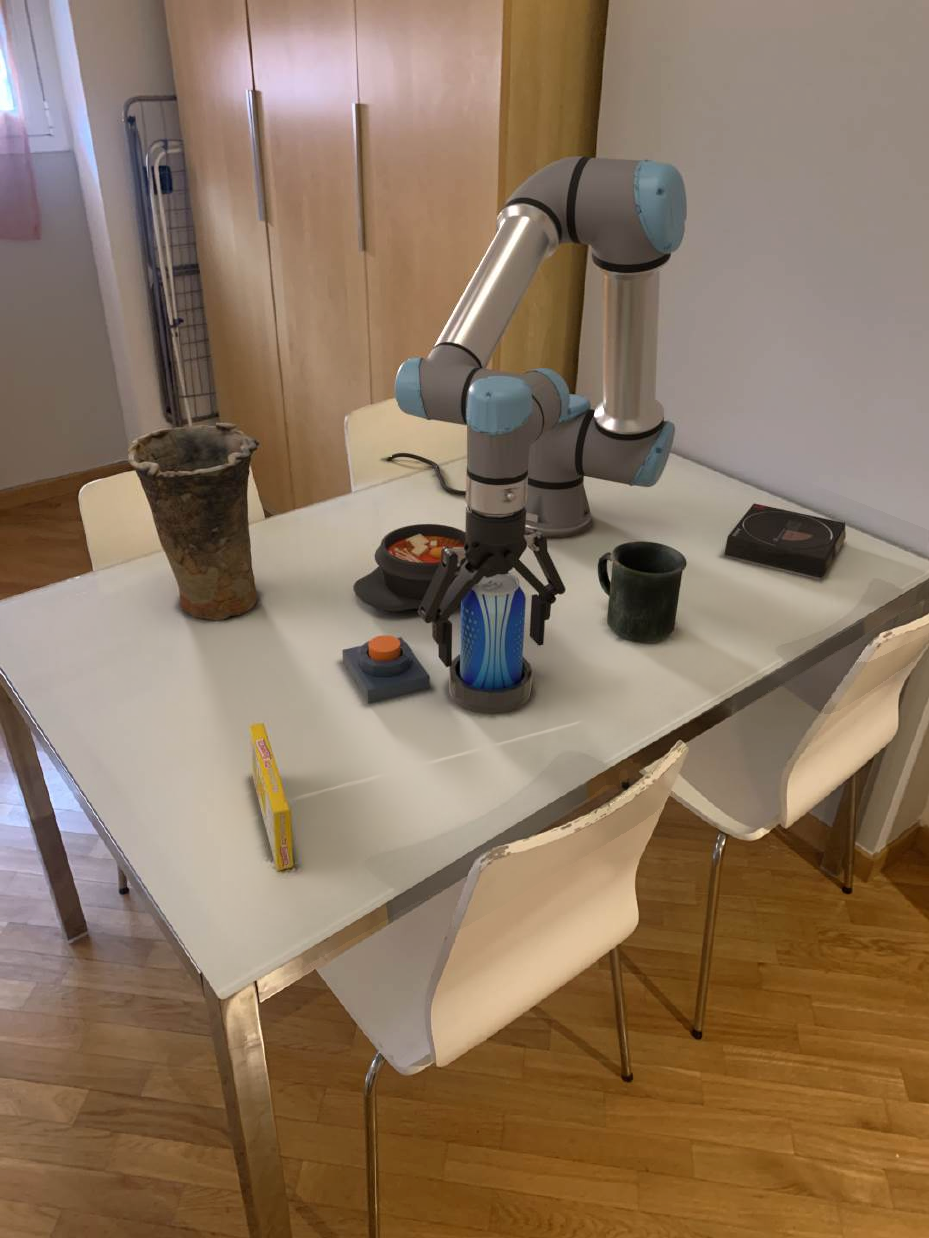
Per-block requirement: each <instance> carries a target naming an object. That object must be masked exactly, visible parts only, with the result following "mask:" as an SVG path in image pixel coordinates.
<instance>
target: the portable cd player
mask: <svg viewBox="0 0 929 1238" xmlns="http://www.w3.org/2000/svg"><path fill="white" fill-rule="evenodd" d="M846 535H847V531H846V522H843V521H838V520H833V519H829V518H823V517H820V516H815V515H810V514H804V513H801V512H797V511H792V510H787V509H782V508H778V507H773V506H770V505H769V506H768V505H764V504H759V503H755V502H754V503H753V504H752V505H751V506H750V507H749V509H748V510H747V511H746V512H745V514H744V515H743V516H742V518H741V519H740V520H739V521H738V523H737V524H736V525H735V526H734V528H733V529H732V530H731V531H730V533H729V534H728V535H727V538H726V545H725V549H724V554H723V555H724V558H727V559H732V560H736V561H740V562H744V563H747V564H753V565H757V566H759V567H765V568H769V569H774V570H776V571H777V570H778V571H781V572H786V573H790V574H794V575H798V576H802V577H806V578H810V579H813V580H814V579H815V580H819V581H821V580H822V579H823V578H824V577H825V575H826V574H827V572H828V570H829V569H830V568H831V565H832V563H833V562H834V560H835V558H836V556H837V554H838V552H839V550H840V549H841V547H842V545H843V543H844V542H845V540H846V538H847V536H846Z"/></svg>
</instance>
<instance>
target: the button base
mask: <svg viewBox="0 0 929 1238" xmlns="http://www.w3.org/2000/svg"><path fill="white" fill-rule="evenodd" d="M396 638H397V639H399V641H400V644H401V655H400V657H399V658H397V659H396V660H393V661H388V662H382V661H375V660H373V659H371V658H370V656H369V641H370V640H368V641H366V642H364V643H363V644H361V645H359V646H354V647H349V648H344V649H342V650H341V652H342V653H341V654H342V664H343V665H344V667H345V668H346V670H347V671H348V673H349V675H350V677H351V679H352V680H353V681H354V684H355V685H356V687H357V688H358V690H359V691H360V693H361V694H362V696H363V698H364V699H365V701H366V702H367V704H372V703H376V702H380V701H385V700H389V699H393V698H398V697H401V696H406V695H411V694H414V693H417V692H422V691H426V690H427V691H428V690H431V676H430V674H429V673H428V671H427V670H426V669H425V668H424V666H423V664H422V663H421V662H420V661H419V659H418V658H417V657H416V655H415V654H414V652H413V650H412V648H411V647H410V645H409V644H408V643H407V642H406V641H405V640H404V639H403V637H401V636H400V637H396Z"/></svg>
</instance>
